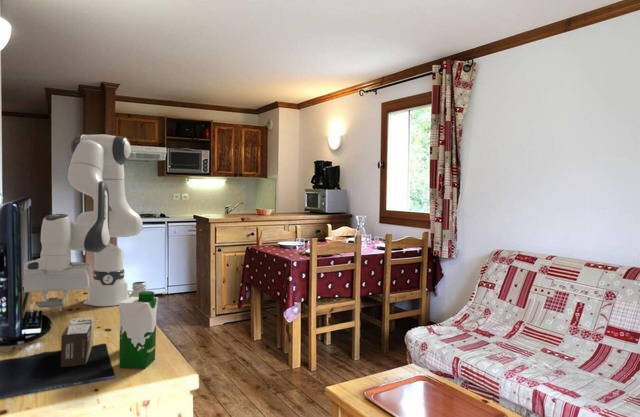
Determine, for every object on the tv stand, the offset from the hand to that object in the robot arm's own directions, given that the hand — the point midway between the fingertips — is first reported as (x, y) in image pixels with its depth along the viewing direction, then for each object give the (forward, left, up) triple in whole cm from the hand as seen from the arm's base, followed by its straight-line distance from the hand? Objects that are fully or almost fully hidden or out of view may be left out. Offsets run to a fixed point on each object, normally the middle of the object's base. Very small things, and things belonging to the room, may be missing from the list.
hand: (55, 304), depth 151 cm
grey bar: (+4, 0, 0) cm, 4 cm away
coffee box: (+19, +10, -5) cm, 22 cm away
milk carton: (+38, +26, -10) cm, 47 cm away
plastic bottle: (+24, +26, -10) cm, 37 cm away
